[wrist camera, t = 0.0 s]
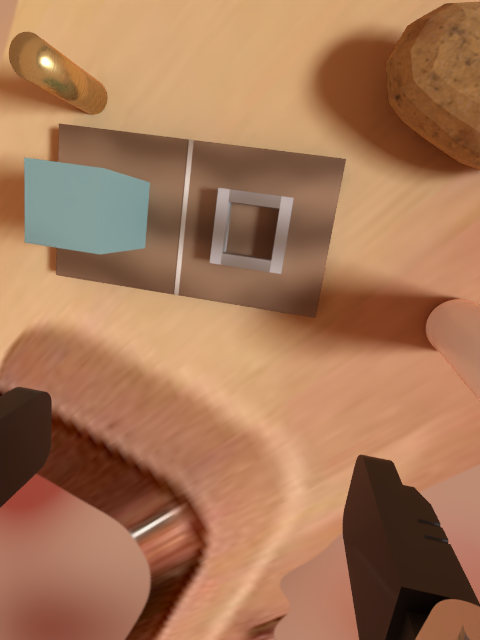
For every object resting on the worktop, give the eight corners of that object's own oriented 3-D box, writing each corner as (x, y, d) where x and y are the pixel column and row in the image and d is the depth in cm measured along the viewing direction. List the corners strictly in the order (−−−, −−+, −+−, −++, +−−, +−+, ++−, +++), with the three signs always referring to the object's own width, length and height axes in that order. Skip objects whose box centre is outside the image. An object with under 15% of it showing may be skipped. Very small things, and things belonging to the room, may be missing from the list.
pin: (77, 77, 36) (8, 29, 27) (108, 80, 36) (48, 33, 27) (76, 112, 37) (9, 77, 28) (106, 116, 36) (47, 81, 28)
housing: (88, 174, 36) (24, 157, 27) (149, 182, 35) (104, 168, 27) (85, 239, 37) (24, 242, 29) (144, 248, 37) (100, 254, 28)
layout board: (71, 129, 37) (12, 103, 29) (343, 162, 35) (356, 144, 27) (67, 272, 41) (14, 283, 33) (314, 313, 38) (319, 334, 30)
